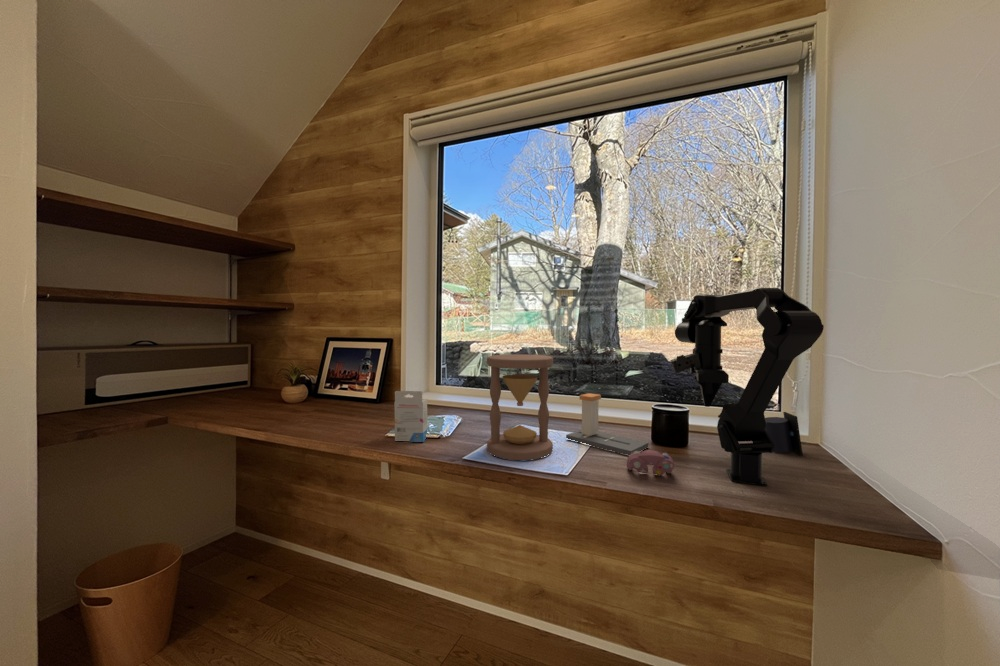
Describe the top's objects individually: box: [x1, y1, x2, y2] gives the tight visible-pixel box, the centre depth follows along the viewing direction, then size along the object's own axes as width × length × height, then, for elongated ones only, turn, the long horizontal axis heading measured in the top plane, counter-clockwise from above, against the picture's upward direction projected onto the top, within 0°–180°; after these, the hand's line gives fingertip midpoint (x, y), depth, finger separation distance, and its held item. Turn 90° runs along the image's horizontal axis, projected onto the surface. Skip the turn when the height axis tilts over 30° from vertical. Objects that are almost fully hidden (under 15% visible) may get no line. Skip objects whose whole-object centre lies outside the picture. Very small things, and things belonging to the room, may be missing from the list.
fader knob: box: [578, 392, 602, 436], centre depth 111 cm, size 4×5×11 cm
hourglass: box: [486, 353, 554, 461], centre depth 102 cm, size 18×18×25 cm
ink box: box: [393, 390, 428, 443], centre depth 111 cm, size 8×5×15 cm, turn 85°
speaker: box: [765, 411, 804, 457], centre depth 102 cm, size 8×6×10 cm
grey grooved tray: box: [565, 429, 650, 455], centre depth 108 cm, size 20×10×2 cm, turn 44°
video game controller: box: [626, 449, 675, 476], centre depth 86 cm, size 10×5×7 cm, turn 77°
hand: (707, 406), depth 97 cm, fingers closed
